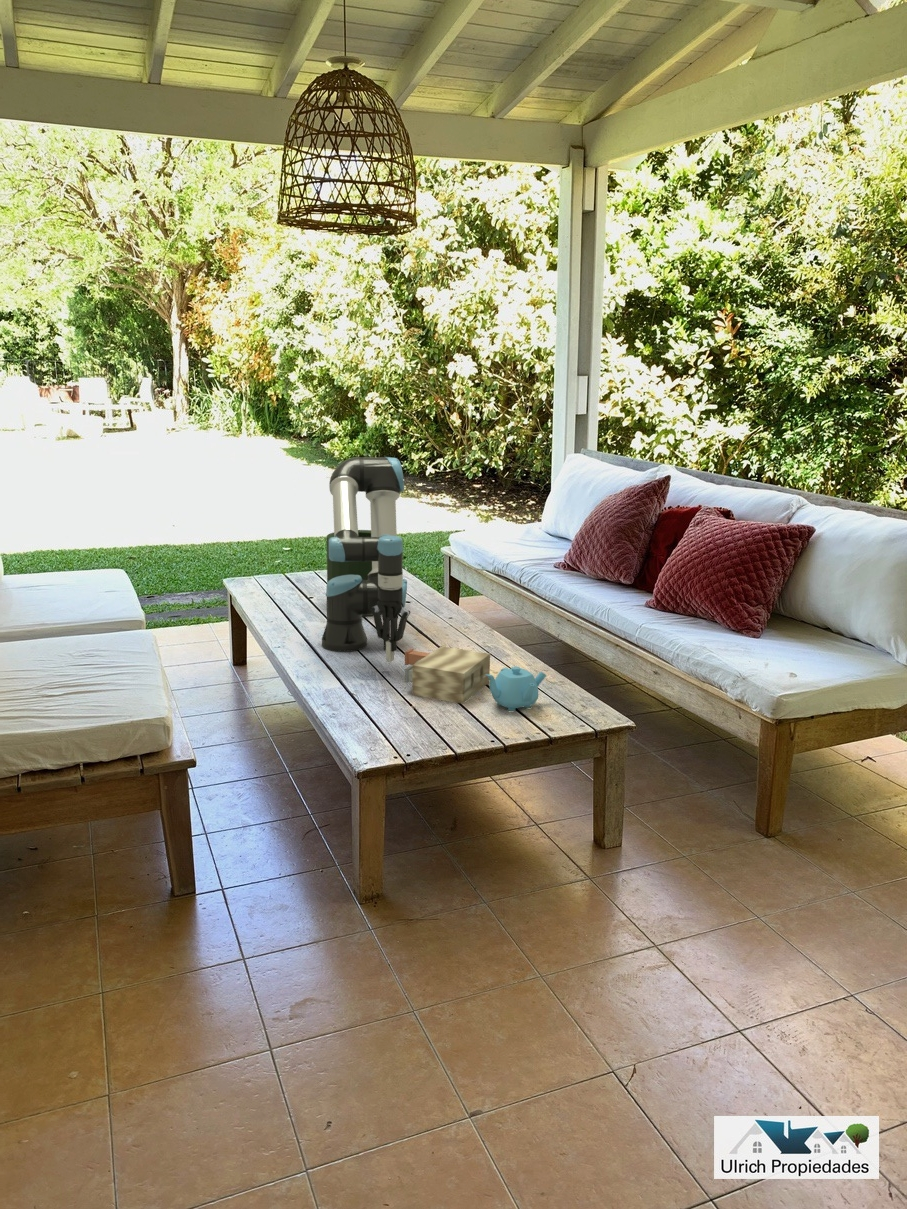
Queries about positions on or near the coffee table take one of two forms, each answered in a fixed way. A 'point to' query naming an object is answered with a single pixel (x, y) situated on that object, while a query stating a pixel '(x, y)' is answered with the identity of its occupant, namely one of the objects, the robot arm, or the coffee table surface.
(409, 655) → the terracotta plug
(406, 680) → the grey plug near
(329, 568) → the flower pot
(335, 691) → the coffee table surface
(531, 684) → the teapot
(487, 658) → the socket block
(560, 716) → the coffee table surface
